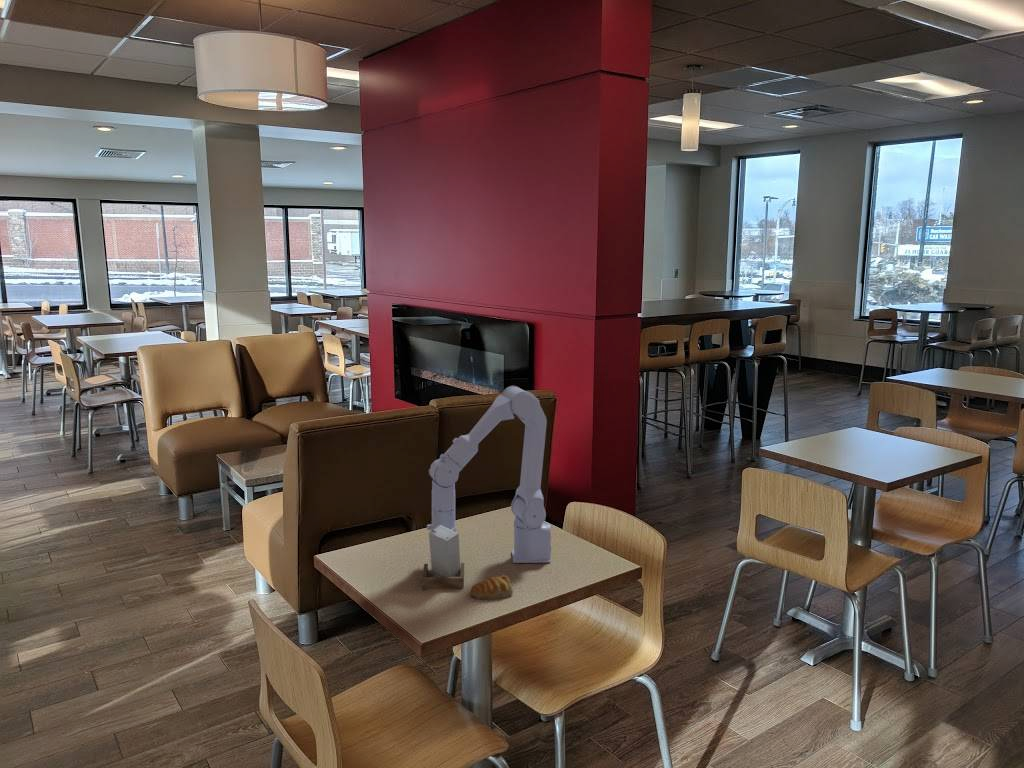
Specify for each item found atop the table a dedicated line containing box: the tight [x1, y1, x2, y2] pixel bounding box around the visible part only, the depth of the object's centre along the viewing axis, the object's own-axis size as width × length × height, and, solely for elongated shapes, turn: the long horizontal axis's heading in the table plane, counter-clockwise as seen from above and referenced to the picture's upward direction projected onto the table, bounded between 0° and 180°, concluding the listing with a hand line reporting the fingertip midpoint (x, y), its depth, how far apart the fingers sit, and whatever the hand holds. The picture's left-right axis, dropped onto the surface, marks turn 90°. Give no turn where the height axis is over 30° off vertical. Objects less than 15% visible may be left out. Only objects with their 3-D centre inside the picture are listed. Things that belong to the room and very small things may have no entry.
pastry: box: [469, 574, 514, 600], centre depth 169 cm, size 9×7×4 cm
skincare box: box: [428, 525, 461, 577], centre depth 175 cm, size 6×4×12 cm
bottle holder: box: [421, 562, 465, 590], centre depth 176 cm, size 10×9×2 cm
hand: (443, 561), depth 183 cm, fingers open, 3 cm apart
